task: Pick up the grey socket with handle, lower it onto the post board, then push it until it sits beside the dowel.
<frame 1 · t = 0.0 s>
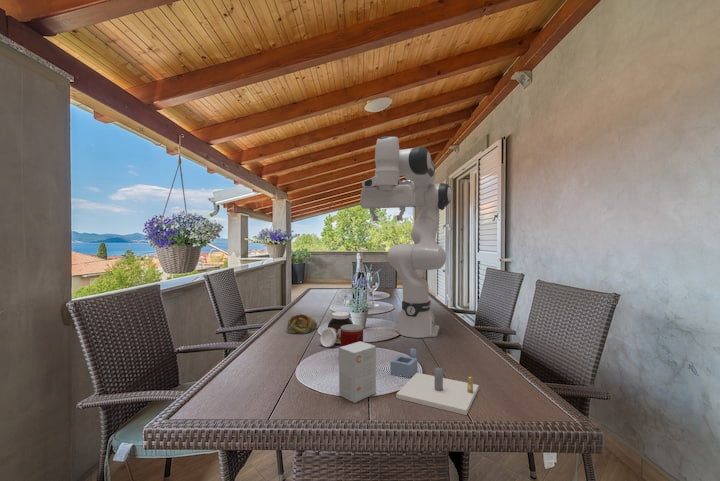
hand: (387, 220, 124), 48 cm above the table, tool pointing down, fingers open, 8 cm apart
dowel: (470, 396, 93), resting on post board
spread jar: (337, 344, 137), on the table
grey socket with handle: (413, 364, 116), on the table
canned food: (351, 359, 121), on the table
pastry: (302, 331, 156), on the table
post board: (438, 393, 94), on the table
small box: (357, 395, 94), on the table
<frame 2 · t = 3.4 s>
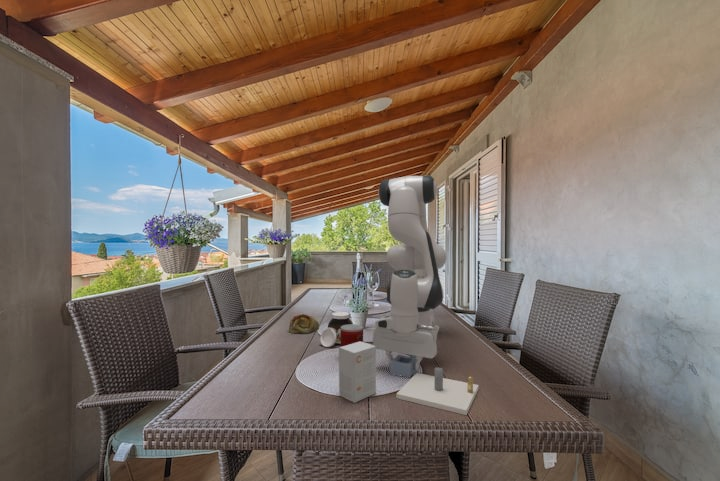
hand: (403, 367, 109), 2 cm above the table, tool pointing down, fingers closed on grey socket with handle, 6 cm apart
grey socket with handle: (413, 364, 116), on the table, touching gripper
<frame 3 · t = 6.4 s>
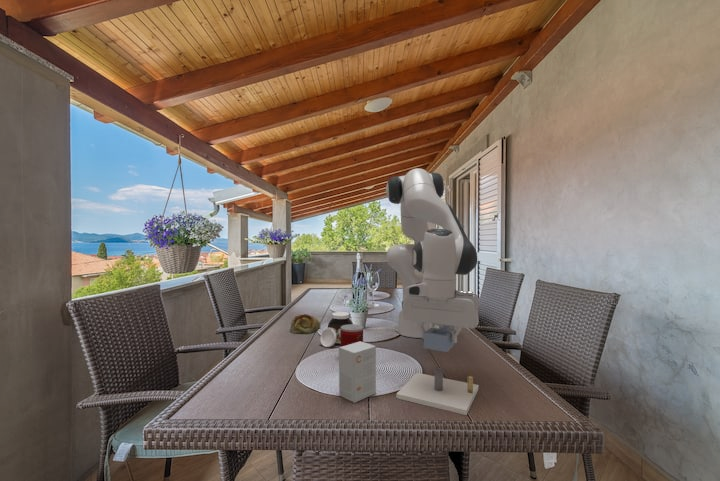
hand: (438, 340, 94), 14 cm above the table, tool pointing down, fingers closed on grey socket with handle, 6 cm apart
grey socket with handle: (446, 338, 101), point 13 cm above the table, touching gripper
when the fingers open (4 cm above the table, at t = 9.1 s): grey socket with handle drops 1 cm, resting on post board.
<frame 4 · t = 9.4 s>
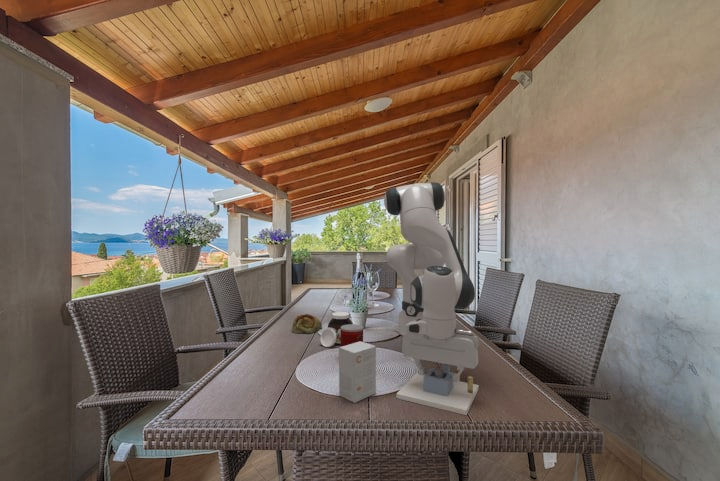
hand: (438, 377, 94), 4 cm above the table, tool pointing down, fingers open, 8 cm apart
grey socket with handle: (446, 378, 102), point 1 cm above the table, touching post board
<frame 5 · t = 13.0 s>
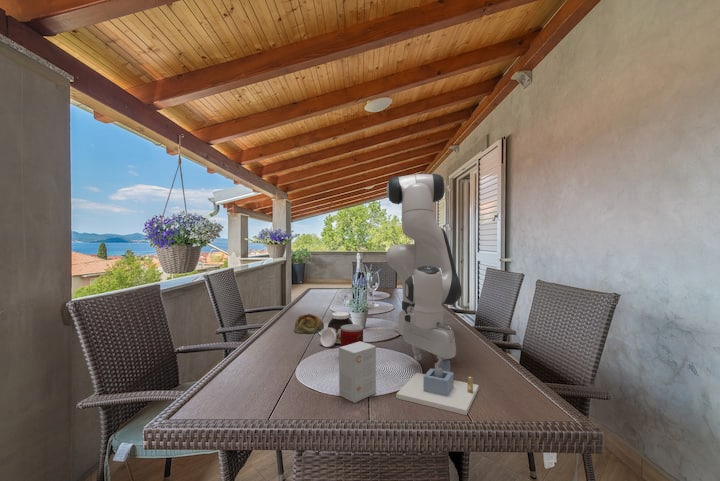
hand: (427, 364, 108), 3 cm above the table, tool pointing down, fingers open, 8 cm apart
grey socket with handle: (446, 378, 102), point 1 cm above the table, touching gripper, post board
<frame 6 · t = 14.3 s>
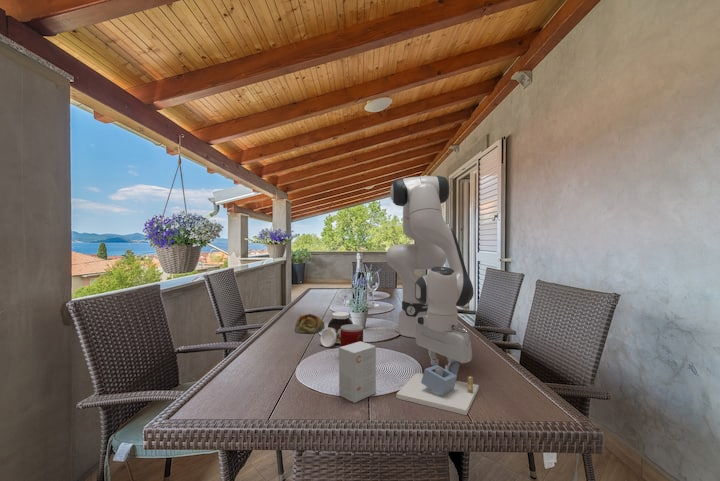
hand: (441, 368, 104), 3 cm above the table, tool pointing down, fingers open, 5 cm apart
grey socket with handle: (451, 379, 100), point 1 cm above the table, tilted 14°, touching gripper, post board
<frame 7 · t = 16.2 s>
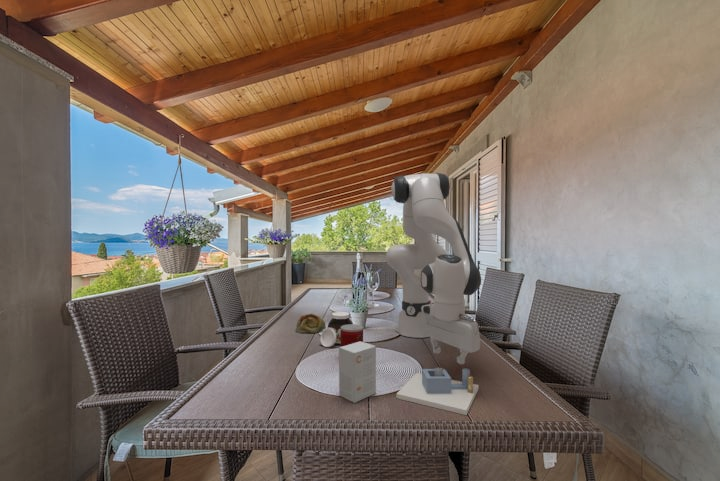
hand: (448, 357, 102), 7 cm above the table, tool pointing down, fingers open, 8 cm apart
grey socket with handle: (465, 387, 95), point 1 cm above the table, touching post board
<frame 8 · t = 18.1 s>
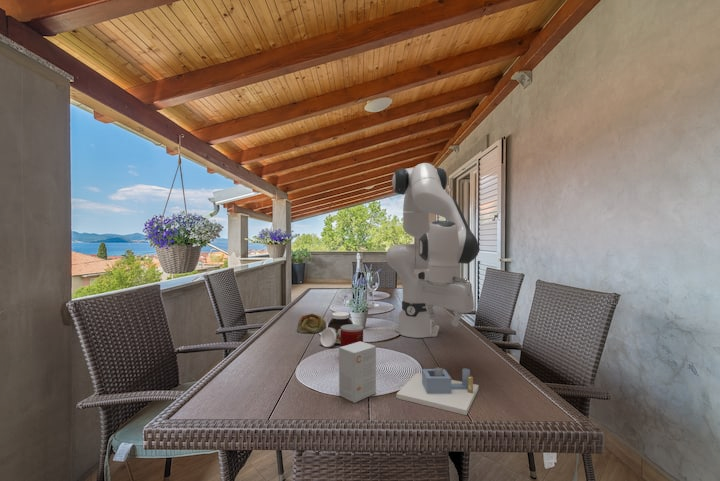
hand: (442, 322, 103), 17 cm above the table, tool pointing down, fingers open, 8 cm apart
at the end: grey socket with handle 0.5 cm from the target spot on the table beside the dowel, point 1.2 cm above the table; grey socket with handle point 1.2 cm above the table; grey socket with handle 7.7 cm from the post board (horizontally) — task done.
